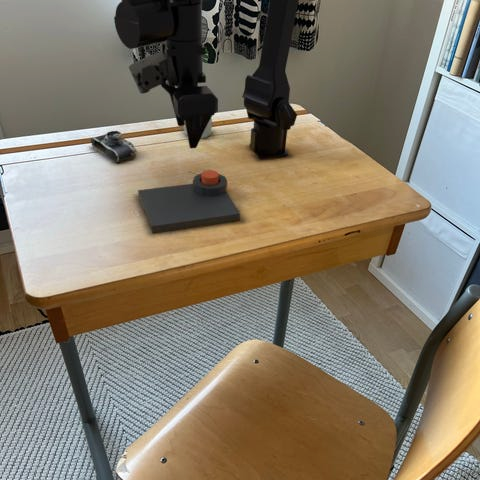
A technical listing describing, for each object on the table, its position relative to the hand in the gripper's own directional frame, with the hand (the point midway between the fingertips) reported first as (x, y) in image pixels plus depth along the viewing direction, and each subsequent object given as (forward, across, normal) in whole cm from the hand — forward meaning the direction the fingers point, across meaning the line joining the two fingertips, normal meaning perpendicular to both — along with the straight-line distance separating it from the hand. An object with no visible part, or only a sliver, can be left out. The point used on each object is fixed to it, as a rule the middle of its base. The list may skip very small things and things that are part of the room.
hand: (186, 136), depth 88 cm
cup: (+10, -23, +7) cm, 26 cm away
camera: (+10, -17, -12) cm, 23 cm away
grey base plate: (+10, +8, -2) cm, 12 cm away
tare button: (+7, +4, +3) cm, 9 cm away
